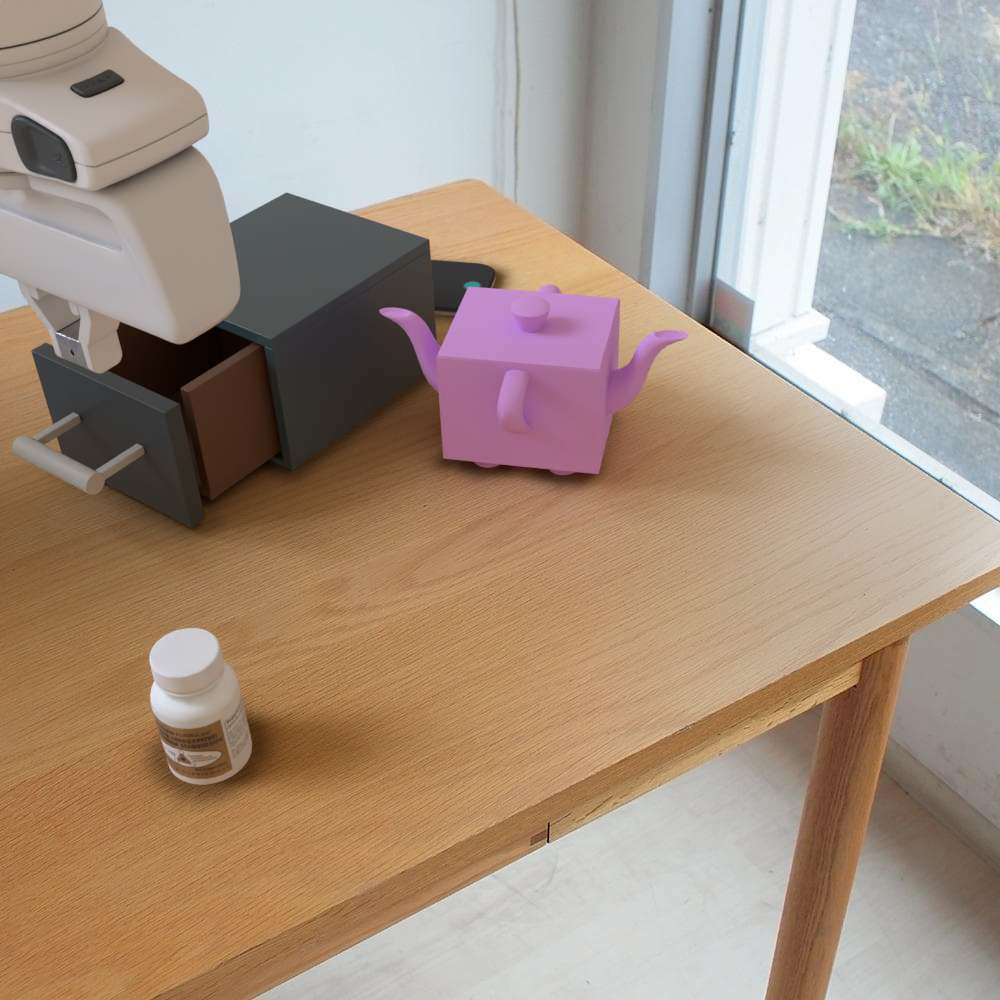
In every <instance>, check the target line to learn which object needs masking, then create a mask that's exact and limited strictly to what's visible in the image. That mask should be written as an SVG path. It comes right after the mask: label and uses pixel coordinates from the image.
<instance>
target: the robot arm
mask: <svg viewBox="0 0 1000 1000" xmlns="http://www.w3.org/2000/svg"><path fill="white" fill-rule="evenodd" d="M209 121H210V120H209V114H208V109H207V105H206V103H205V100H204V98H203V96H202V94H201V93H200V92H199V91H198V90H197V89H196V88H195V87H194V86H193V85H191V84H189V83H188V82H187V81H186V80H184V79H183V78H181V77H179V76H178V75H177V74H175V73H173V72H172V71H170V70H169V69H167V68H166V67H165V66H163V65H162V64H161V63H158V61H156V60H154V59H153V58H152V57H151V56H149V55H148V54H147V53H145V52H144V51H143V50H141V49H140V48H139V47H138V46H137V45H136V44H134V43H133V41H131V39H129V37H127V36H126V35H125V33H123V32H122V31H121V30H119V29H118V28H116V27H114V26H109V24H108V21H107V15H106V11H105V6H104V2H103V0H0V274H1V275H3V276H5V277H8V278H10V279H13V280H15V281H17V285H18V287H19V290H20V293H21V295H22V297H23V298H24V300H26V302H27V304H28V305H29V306H30V308H31V309H32V311H33V312H34V314H35V315H36V316H37V317H38V319H39V320H40V322H41V323H42V325H43V326H44V327H45V328H46V329H47V330H48V335H49V337H50V340H51V341H50V342H51V343H52V344H51V345H53V347H54V351H55V353H56V355H57V356H58V357H61V358H63V359H66V360H68V361H71V362H73V363H75V364H78V365H80V366H82V367H84V368H86V369H89V370H91V371H93V372H95V373H101V374H102V373H104V372H105V371H107V370H108V369H110V368H112V367H113V366H115V365H117V364H118V363H119V362H120V360H121V358H122V350H121V346H120V342H119V339H118V335H117V331H116V330H117V329H118V326H119V323H120V322H122V323H125V324H127V325H130V326H132V327H135V328H137V329H140V330H142V331H145V332H147V333H150V334H152V335H155V336H157V337H160V338H162V339H164V340H167V341H169V342H172V343H175V344H184V343H187V342H189V341H191V340H193V339H194V338H196V337H198V336H199V335H201V334H203V333H204V332H206V331H208V330H209V329H211V328H212V327H214V326H215V325H217V324H219V323H220V322H222V321H223V320H225V319H226V318H227V317H228V316H229V315H230V314H231V313H232V311H233V310H234V308H235V306H236V304H237V302H238V300H239V297H240V277H239V271H238V264H237V258H236V253H235V247H234V242H233V237H232V232H231V227H230V223H231V222H230V219H229V218H230V217H229V214H228V210H227V206H226V201H225V198H224V194H223V190H222V188H221V187H222V186H221V185H220V181H219V179H218V177H217V175H216V173H215V171H214V169H213V167H212V165H211V163H210V162H209V160H208V159H207V158H206V156H205V155H204V154H203V153H202V152H201V150H199V149H198V148H196V146H193V145H194V144H196V143H197V142H199V141H201V140H202V139H204V138H206V137H207V135H209V131H210V122H209Z"/></svg>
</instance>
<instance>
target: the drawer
mask: <svg viewBox="0 0 1000 1000" xmlns="http://www.w3.org/2000/svg"><path fill="white" fill-rule="evenodd" d="M116 331H117V335H118V339H119V342H120V346H121V350H122V358H121V360H120V362H119V363H118V364H117V365H115V366H113V367H112V368H110V369H108V370H107V371H105V372H104V373H102V374H101V373H95V372H93V371H91V370H89V369H86V368H84V367H82V366H80V365H78V364H75V363H73V362H71V361H68V360H66V359H63V358H61V357H58V356H57V355H56V353H55V351H54V347H53V344H50V343H48V342H44V343H41V344H40V345H39V346H36V347H34V348H32V349H31V351H30V353H31V355H32V358H33V362H34V365H35V368H36V372H37V375H38V379H39V382H40V386H41V389H42V392H43V396H44V399H45V402H46V406H47V409H48V412H49V415H50V419H51V423H52V424H51V425H50V426H48V427H46V428H45V429H43V430H41V431H40V432H38V433H36V434H34V435H33V436H32V437H31V436H30V435H27V434H22V435H21V434H20V435H18V436H17V437H16V438H15V439H14V440H13V442H12V446H11V450H12V451H11V452H12V453H13V455H14V456H16V457H18V458H20V459H22V460H23V461H26V462H27V463H29V464H31V465H34V466H35V467H37V468H39V469H40V470H42V471H44V472H46V473H48V474H50V475H51V476H53V477H55V478H57V479H59V480H61V481H63V482H65V483H67V484H69V485H70V486H72V487H75V488H76V489H78V490H80V491H82V492H83V493H86V494H88V495H90V496H95V495H98V494H99V493H101V491H102V490H103V489H104V487H105V484H106V485H108V486H110V487H112V488H114V489H116V490H117V491H119V492H121V493H124V494H125V495H127V496H129V497H131V498H133V499H135V500H136V501H139V502H141V503H142V504H145V505H146V506H148V507H151V508H152V509H154V510H156V511H158V512H160V513H161V514H164V515H166V516H168V517H170V518H171V519H174V520H175V521H177V522H179V523H180V524H183V525H184V526H187V527H189V528H191V529H193V528H194V527H195V526H197V525H198V524H200V523H201V522H202V521H204V520H205V519H206V516H205V511H204V507H203V503H202V498H201V496H204V497H205V498H207V499H209V500H212V501H213V500H214V499H216V498H217V497H219V496H220V495H221V494H223V493H224V492H225V491H227V490H228V489H230V488H231V487H232V486H234V485H235V484H237V483H238V482H239V481H241V480H242V479H244V478H245V477H246V476H248V475H249V474H251V473H252V472H254V471H255V470H256V469H258V468H259V467H261V466H262V465H263V464H265V463H266V462H268V461H270V460H269V459H270V458H272V457H273V456H275V455H276V454H277V453H279V452H280V451H282V449H281V443H280V437H279V431H278V425H277V419H276V414H275V408H274V402H273V396H272V390H271V384H270V378H269V372H268V366H267V360H266V354H265V348H264V346H263V345H260V344H258V343H256V342H253V341H251V340H248V339H246V338H243V337H241V336H238V335H236V334H234V333H231V332H229V331H226V330H224V329H221V328H219V327H217V326H214V327H212V328H211V329H209V330H208V331H206V332H204V333H203V334H201V335H199V336H198V337H196V338H194V339H193V340H191V341H189V342H187V343H184V344H175V343H172V342H169V341H167V340H164V339H162V338H160V337H157V336H155V335H152V334H150V333H147V332H145V331H142V330H140V329H137V328H135V327H132V326H130V325H127V324H125V323H122V322H120V323H119V326H118V329H117V330H116ZM55 439H57V443H58V446H59V449H60V451H58V450H56V449H54V448H52V447H50V446H48V445H47V444H48V443H49V442H51V441H53V440H55Z"/></svg>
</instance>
